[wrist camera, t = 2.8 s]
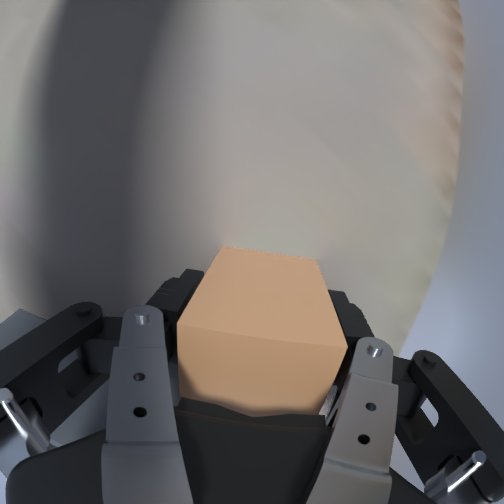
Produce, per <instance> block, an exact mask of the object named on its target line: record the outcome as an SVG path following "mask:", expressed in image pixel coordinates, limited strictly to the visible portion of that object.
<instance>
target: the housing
mask: <svg viewBox="0 0 504 504" xmlns="http://www.w3.org/2000/svg"><path fill="white" fill-rule="evenodd" d="M44 322H46V320H44V319H42V318H39V317H37V316H35V315H33V314H30V313H28V312H26V311H24V310H22V309H19V310H18V311H16V312H15V313H14V314H12V315H11V316H10V317H8V318H7V319H6V320H5V321H3V322H2V323H1V324H0V350H2V349H3V348H5V347H6V346H8V345H9V344H11V343H13V342H14V341H16V340H17V339H19V338H20V337H22V336H23V335H25V334H27V333H28V332H30V331H31V330H33V329H34V328H36V327H38V326H39V325H41V324H42V323H44ZM77 358H78V357H77V354H76V350H74V351H73V352H72V353H70V354H69V355H68V356H66V357H65V358H64V359H62V360H61V362H60V364H59V366H58V373H59V372H61V371H62V370H63V369H64V368H66V367H67V366H68V365H69V364H71V363H72V362H73V361H74V360H76V359H77ZM168 371H169V379H170V387H171V395H172V402H173V406H178V404H179V401H180V393H179V375H178V364H176V363H172V362H169V364H168ZM109 381H110V378H109V379H108V380H107V381H106V382H105V383H104V384H103V385H102V386H101V387H99V388H98V389H97V390H96V391H95V392H94V393H93V394H92V395H91V396H90V397H89V398H88V399H87V400H86V401H85V402H84V403H83V404H82V405H81V406H80V407H79V408H77V409H76V410H75V411H74V412H73V413H72V414H71V415H70V416H69V417H68V418H67V419H66V420H65V421H64V422H63V423H62V424H61V425H60V426H59V427H58V428H57V429H56V430H55V431H54V432H52V433H51V434H50V437H51V438H50V444H49V446H48V447H49V450H51V449H54V448H57V447H60V446H62V445H65V444H68V443H70V442H73V441H76V440H78V439H81V438H83V437H86V436H88V435H90V434H93V433H95V432H98V431H100V430H102V429H105V428H106V422H107V405H108V392H109Z"/></svg>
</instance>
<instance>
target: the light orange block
mask: <svg viewBox="0 0 504 504" xmlns="http://www.w3.org/2000/svg"><path fill="white" fill-rule="evenodd" d="M347 348H348V346H347V343H346V340H345V337H344V334H343V331H342V328H341V325H340V323H339V320H338V317H337V314H336V311H335V309H334V306H333V303H332V300H331V298H330V295H329V292H328V290H327V287H326V284H325V282H324V279H323V277H322V274H321V271H320V269H319V266H318V264H317V261H316V260H314V259H308V258H301V257H294V256H287V255H281V254H274V253H267V252H260V251H253V250H246V249H240V248H233V247H226V246H222V247H221V249H220V251H219V252H218V254H217V256H216V257H215V259H214V261H213V262H212V264H211V266H210V267H209V269H208V271H207V272H206V274H205V276H204V277H203V279H202V281H201V282H200V284H199V286H198V288H197V289H196V291H195V293H194V294H193V296H192V298H191V300H190V301H189V303H188V305H187V307H186V308H185V310H184V312H183V313H182V315H181V317H180V319H179V320H178V322H177V350H178V375H179V393H180V398H181V397H185V398H189V399H193V400H198V401H203V402H208V403H213V404H217V405H220V406H223V407H225V408H228V409H231V410H233V411H236V412H239V413H242V414H245V415H248V416H251V417H262V416H273V415H283V414H306V415H318V414H319V412H320V410H321V408H322V406H323V404H324V402H325V400H326V398H327V395H328V393H329V391H330V389H331V386H332V384H333V382H334V380H335V377H336V375H337V373H338V370H339V368H340V365H341V363H342V360H343V358H344V355H345V353H346V350H347Z"/></svg>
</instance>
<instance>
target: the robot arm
mask: <svg viewBox="0 0 504 504" xmlns="http://www.w3.org/2000/svg"><path fill="white" fill-rule="evenodd" d="M203 277H204V272H203V271H198V270H192V269H186V270H185V271H184V273H183V274H182V275H181V276H180V278H174V277H173V278H171V279H169V280H167V281H165V282H164V283H163V284H162V285H161V287H160V288H159V289H158V290H157V291H156V293H155V294H154V295H153V296H152V297H151V299H150V300H149V301H148V302H147V303H146V305H138V306H133V307H131V308H129V309H127V310H126V311H125V312H124V315H123V317H103V313H102V308H101V307H100V306H99V305H97V304H95V303H92V302H81V303H77V304H74V305H72V306H70V307H69V308H67V309H65V310H64V311H62V312H60V313H59V314H57V315H56V316H54V317H52V318H51V319H49V320H47V321H46V322H44V323H42V324H41V325H39V326H38V327H36V328H34V329H33V330H31V331H30V332H28V333H27V334H25V335H23V336H22V337H20V338H19V339H17V340H16V341H14V342H13V343H11V344H9V345H8V346H6V347H5V348H3V349H2V350H0V470H1V472H2V473H3V474H4V475H5V476H6V478H7V483H6V504H495V503H496V502H498V501H499V500H501V499H502V498H503V497H504V431H503V430H502V429H501V428H500V426H499V425H498V424H497V423H496V421H495V420H494V419H493V418H492V416H491V415H490V414H489V413H488V411H487V410H486V409H485V408H484V406H483V405H482V404H481V403H480V402H479V400H478V399H477V398H476V397H475V396H474V395H473V393H472V392H471V391H470V390H469V389H468V388H467V387H466V385H465V384H464V383H463V382H462V381H461V380H460V379H459V378H458V376H457V375H456V374H455V373H454V372H453V371H452V370H451V369H450V367H449V366H448V365H447V364H446V363H445V362H444V361H443V360H442V359H441V358H440V357H439V356H438V355H436V354H435V353H433V352H430V351H426V350H420V351H417V352H415V354H414V355H413V357H412V359H411V360H407V359H403V358H399V357H395V356H393V350H392V348H391V346H390V345H389V344H387V343H386V342H385V341H383V340H381V339H378V338H375V337H374V335H373V333H372V331H371V329H370V327H369V325H368V324H367V321H366V319H365V318H364V315H363V313H362V311H361V310H360V309H359V308H358V307H357V306H356V305H355V304H352V303H349V301H348V299H347V297H346V295H345V293H344V292H342V291H334V290H328V292H329V295H330V298H331V300H332V303H333V306H334V309H335V311H336V314H337V317H338V320H339V323H340V325H341V328H342V331H343V334H344V337H345V340H346V343H347V346H348V348H347V350H346V353H345V355H344V358H343V360H342V363H341V365H340V368H339V370H338V373H337V375H336V377H335V380H334V382H333V384H332V385H337V388H338V389H337V391H336V393H335V395H334V398H333V400H332V403H331V406H330V409H329V411H328V414H327V417H326V419H325V415H306V414H283V415H273V416H262V417H251V416H248V415H245V414H242V413H239V412H236V411H233V410H231V409H228V408H225V407H223V406H220V405H217V404H213V403H208V402H203V401H198V400H193V399H189V398H185V397H181V398H180V401H179V404H178V406H173V402H172V395H171V387H170V379H169V371H168V364H169V362H172V363H176V364H178V350H177V322H178V320H179V319H180V317H181V315H182V313H183V312H184V310H185V308H186V307H187V305H188V303H189V301H190V300H191V298H192V296H193V294H194V293H195V291H196V289H197V288H198V286H199V284H200V282H201V281H202V279H203ZM74 350H76V354H77V357H78V358H77V359H76V360H74V361H73V362H72V363H71V364H69V365H68V366H67V367H66V368H64V369H63V370H62V371H61V372H59V373H58V366H59V364H60V362H61V360H62V359H64V358H65V357H66V356H68V355H69V354H70V353H72V352H73V351H74ZM109 378H110V381H109V392H108V405H107V422H106V428H105V429H102V430H100V431H98V432H95V433H93V434H90V435H88V436H86V437H83V438H81V439H78V440H76V441H73V442H70V443H68V444H65V445H62V446H60V447H57V448H54V449H51V450H49V447H48V446H49V444H50V438H51V437H50V434H51V433H52V432H54V431H55V430H56V429H57V428H58V427H59V426H60V425H61V424H62V423H63V422H64V421H65V420H66V419H67V418H68V417H69V416H70V415H71V414H72V413H73V412H74V411H75V410H76V409H77V408H79V407H80V406H81V405H82V404H83V403H84V402H85V401H86V400H87V399H88V398H89V397H90V396H91V395H92V394H93V393H94V392H95V391H96V390H97V389H98V388H99V387H101V386H102V385H103V384H104V383H105V382H106V381H107V380H108V379H109ZM426 398H428V400H429V401H430V402H431V404H432V405H433V406H434V408H435V409H436V410H437V412H438V416H439V420H438V423H437V425H436V426H435V427H433V425H432V423H431V422H430V421H429V419H428V418H427V416H426V415H425V413H424V412H423V410H422V409H421V408H420V407H421V406H422V404H423V403H424V401H425V400H426ZM394 434H396V436H397V438H398V439H399V441H400V443H401V445H402V447H403V448H404V450H405V452H406V453H407V455H408V457H409V459H410V461H411V462H412V464H413V466H414V468H415V469H416V471H417V473H418V475H419V477H420V479H421V481H422V482H423V484H424V486H425V487H424V493H423V492H422V491H420V490H419V489H417V488H416V487H415V486H414V485H412V484H411V483H410V482H408V481H407V480H406V479H404V478H403V477H402V476H401V475H399V474H398V473H397V472H396V471H394V470H393V469H392V468H391V467H389V466H390V460H391V454H392V448H393V441H394Z"/></svg>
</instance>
